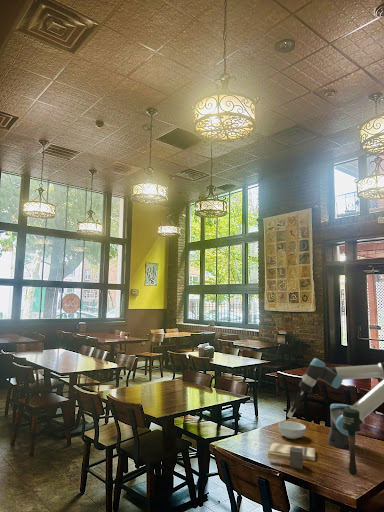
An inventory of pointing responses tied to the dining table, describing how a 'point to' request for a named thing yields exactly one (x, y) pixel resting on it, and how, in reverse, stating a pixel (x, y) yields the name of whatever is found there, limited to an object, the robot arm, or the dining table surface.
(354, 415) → the stick grenade
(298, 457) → the marking gauge
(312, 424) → the dining table surface
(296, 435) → the cereal bowl
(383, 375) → the robot arm
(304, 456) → the maple board
